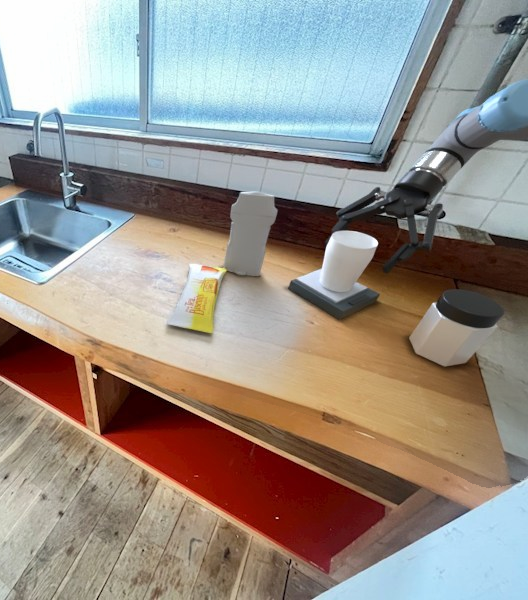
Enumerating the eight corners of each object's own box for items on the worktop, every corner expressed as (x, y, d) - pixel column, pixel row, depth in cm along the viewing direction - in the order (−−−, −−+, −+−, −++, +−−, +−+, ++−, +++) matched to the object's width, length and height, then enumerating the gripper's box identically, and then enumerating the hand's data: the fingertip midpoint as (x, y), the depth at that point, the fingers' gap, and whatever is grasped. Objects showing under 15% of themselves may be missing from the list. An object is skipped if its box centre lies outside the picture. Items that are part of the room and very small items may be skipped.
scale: (375, 302, 76) (381, 291, 74) (339, 319, 71) (344, 309, 69) (322, 274, 86) (326, 264, 84) (288, 288, 81) (291, 278, 79)
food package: (212, 329, 67) (166, 320, 70) (211, 337, 68) (165, 328, 71) (227, 265, 87) (190, 259, 90) (226, 272, 88) (190, 266, 91)
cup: (361, 283, 77) (383, 237, 70) (350, 300, 72) (373, 253, 64) (321, 270, 82) (337, 226, 75) (308, 286, 77) (325, 240, 69)
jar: (436, 333, 67) (471, 286, 59) (476, 362, 60) (521, 313, 53) (397, 339, 66) (428, 291, 59) (434, 369, 59) (474, 320, 52)
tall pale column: (262, 271, 88) (282, 191, 75) (260, 279, 85) (281, 197, 72) (223, 264, 92) (235, 186, 79) (220, 271, 89) (232, 192, 76)
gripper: (496, 206, 63) (414, 290, 67) (370, 176, 81) (311, 243, 85) (501, 184, 58) (412, 276, 62) (365, 156, 76) (303, 229, 80)
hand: (353, 257), depth 74 cm, fingers open, 13 cm apart
